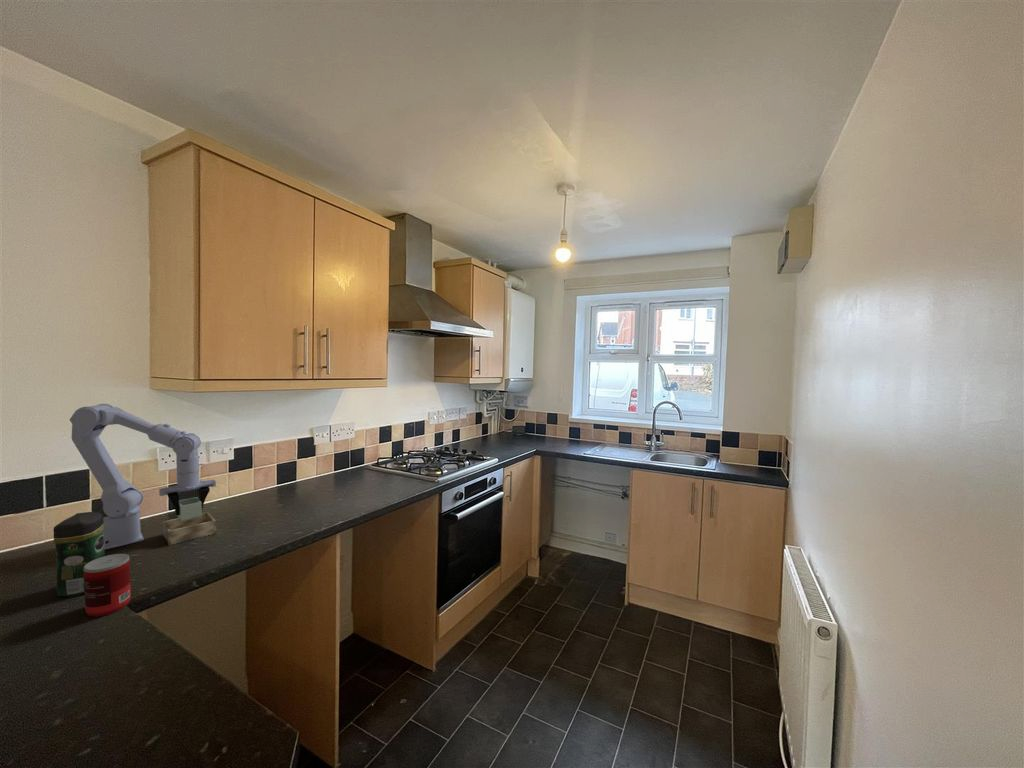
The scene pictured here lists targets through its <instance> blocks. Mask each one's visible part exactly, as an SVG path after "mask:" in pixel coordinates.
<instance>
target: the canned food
mask: <svg viewBox="0 0 1024 768" xmlns="http://www.w3.org/2000/svg"><path fill="white" fill-rule="evenodd" d="M130 562H131V561H130V555H129V554H127V553H114V554H109V555H105V556H104V557H101V558H98V559H95V560H93V561H91V562H89V563H87V564H86V565H85V566H84V570H83V572H84V593H83V595H84V608H85V609H84V610H85V613H86V615H87V616H89V617H102V616H106V615H110V614H113V613H115V612H117V611H120V610H122V609H123V608H125V607H126V606H127V605H128V604H129V603H130V602H131V598H132V589H131V587H132V586H131V563H130Z"/></svg>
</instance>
